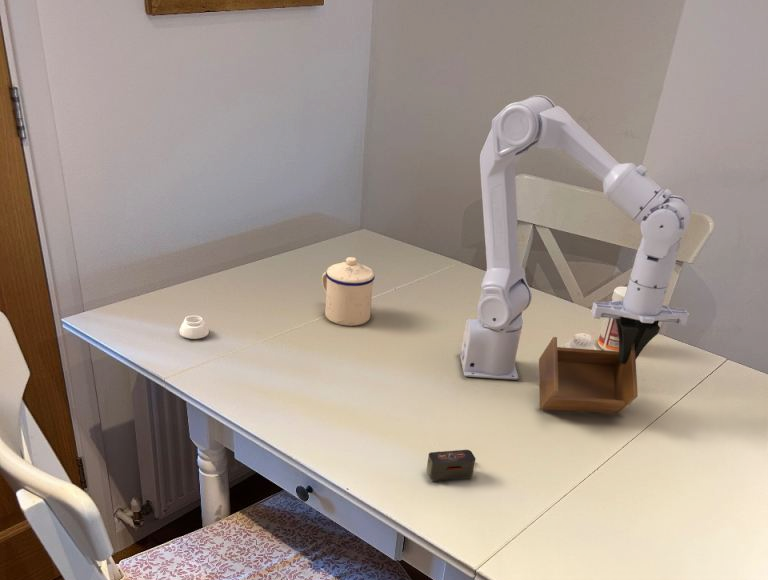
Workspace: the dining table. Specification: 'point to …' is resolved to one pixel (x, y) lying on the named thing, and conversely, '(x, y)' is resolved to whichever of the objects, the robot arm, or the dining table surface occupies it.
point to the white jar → (193, 328)
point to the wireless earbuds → (450, 465)
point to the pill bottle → (611, 325)
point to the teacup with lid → (348, 292)
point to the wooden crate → (586, 380)
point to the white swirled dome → (581, 342)
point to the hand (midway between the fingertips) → (625, 361)
